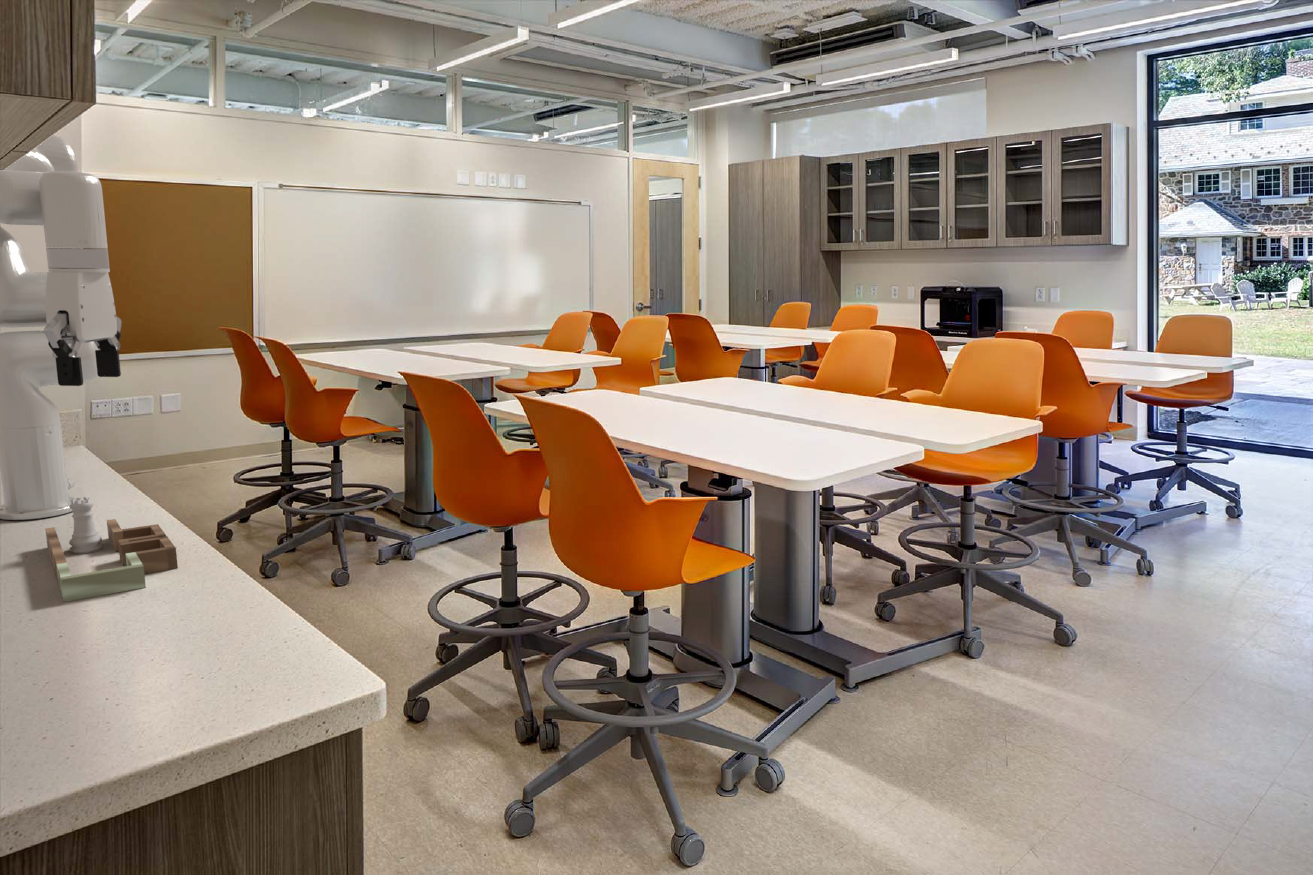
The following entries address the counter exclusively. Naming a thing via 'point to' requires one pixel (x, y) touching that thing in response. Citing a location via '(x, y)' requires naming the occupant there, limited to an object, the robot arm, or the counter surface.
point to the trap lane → (136, 549)
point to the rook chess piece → (84, 528)
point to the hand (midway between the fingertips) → (90, 380)
